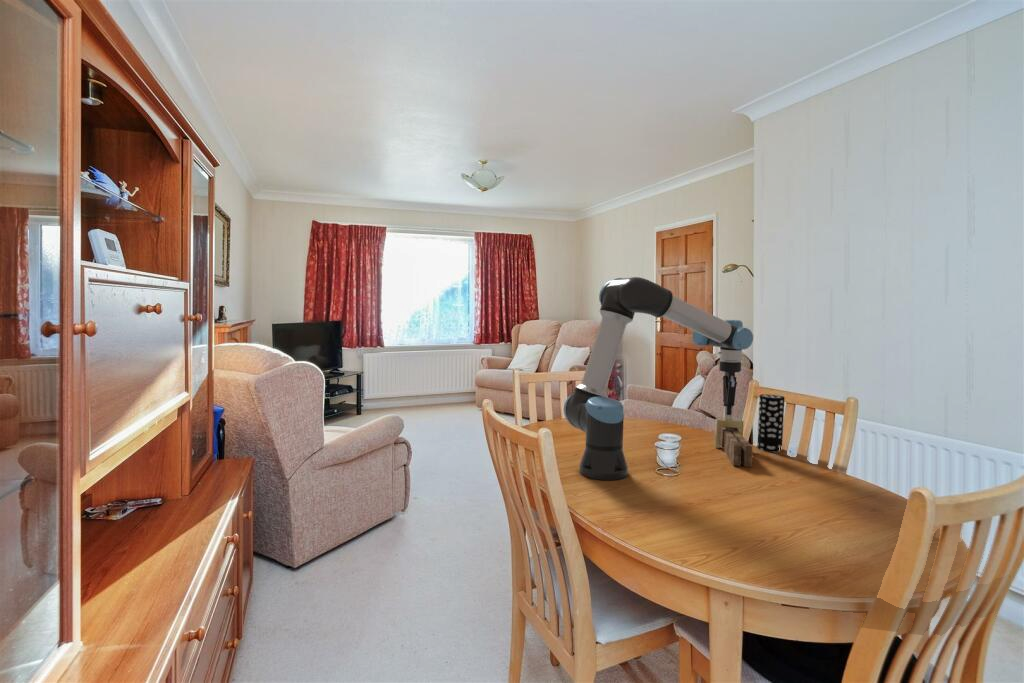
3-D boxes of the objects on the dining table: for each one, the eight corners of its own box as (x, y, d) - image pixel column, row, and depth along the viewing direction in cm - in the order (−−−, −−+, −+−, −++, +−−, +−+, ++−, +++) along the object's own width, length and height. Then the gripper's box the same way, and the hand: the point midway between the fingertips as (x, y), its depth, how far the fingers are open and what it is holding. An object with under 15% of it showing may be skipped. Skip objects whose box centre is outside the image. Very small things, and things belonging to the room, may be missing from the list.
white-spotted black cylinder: (752, 447, 194) (754, 395, 193) (767, 444, 198) (769, 393, 196) (771, 453, 187) (774, 399, 185) (787, 450, 190) (789, 397, 189)
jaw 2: (730, 449, 190) (731, 430, 190) (736, 449, 190) (737, 431, 189) (744, 466, 170) (745, 445, 170) (751, 466, 170) (752, 446, 170)
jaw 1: (723, 449, 191) (723, 430, 190) (729, 449, 190) (730, 430, 190) (733, 465, 171) (734, 444, 171) (740, 466, 171) (741, 445, 170)
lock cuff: (714, 445, 195) (715, 418, 195) (740, 447, 193) (741, 419, 193) (716, 447, 192) (717, 420, 192) (742, 449, 190) (743, 421, 190)
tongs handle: (718, 442, 201) (718, 421, 201) (730, 442, 200) (730, 422, 200) (723, 449, 190) (724, 428, 190) (736, 450, 190) (737, 429, 189)
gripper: (716, 358, 200) (714, 418, 202) (723, 362, 187) (720, 426, 189) (737, 359, 198) (734, 419, 200) (745, 363, 186) (742, 427, 187)
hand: (727, 422), depth 194 cm, fingers closed
